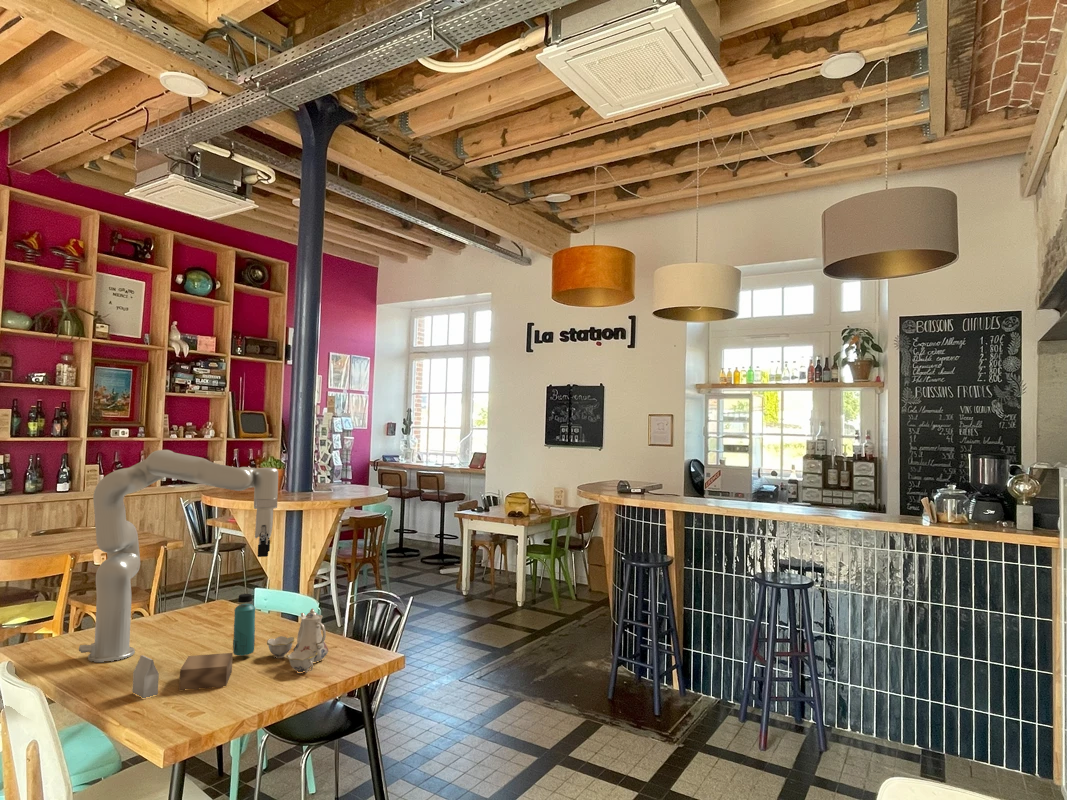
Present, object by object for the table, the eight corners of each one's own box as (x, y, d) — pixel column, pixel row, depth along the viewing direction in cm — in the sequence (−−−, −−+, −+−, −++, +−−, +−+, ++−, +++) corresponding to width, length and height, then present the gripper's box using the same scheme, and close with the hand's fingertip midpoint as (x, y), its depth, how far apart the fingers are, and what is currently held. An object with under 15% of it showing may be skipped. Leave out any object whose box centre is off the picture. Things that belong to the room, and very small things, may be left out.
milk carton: (143, 699, 178) (145, 662, 178) (132, 693, 182) (134, 656, 182) (157, 695, 181) (159, 658, 181) (146, 689, 185) (148, 653, 185)
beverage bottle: (258, 655, 214) (261, 593, 215) (243, 661, 208) (246, 597, 209) (242, 652, 217) (245, 591, 218) (227, 659, 210) (229, 595, 211)
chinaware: (257, 661, 213) (254, 611, 213) (305, 645, 225) (302, 596, 225) (299, 685, 194) (296, 629, 194) (349, 665, 206) (346, 613, 206)
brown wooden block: (179, 691, 184) (180, 670, 185) (187, 676, 196) (188, 656, 196) (226, 687, 188) (226, 666, 188) (231, 672, 199) (232, 652, 200)
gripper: (255, 501, 234) (253, 550, 233) (251, 506, 217) (249, 559, 216) (278, 501, 236) (276, 549, 235) (276, 506, 220) (274, 558, 219)
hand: (263, 554), depth 226 cm, fingers open, 9 cm apart
